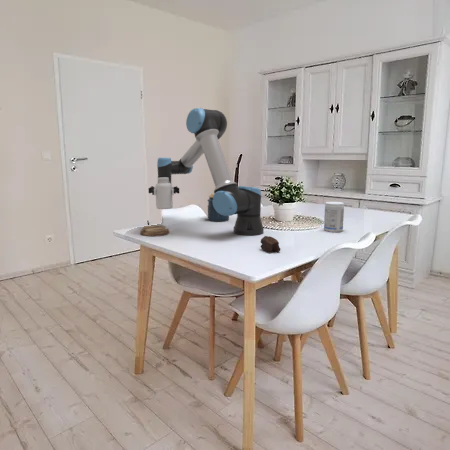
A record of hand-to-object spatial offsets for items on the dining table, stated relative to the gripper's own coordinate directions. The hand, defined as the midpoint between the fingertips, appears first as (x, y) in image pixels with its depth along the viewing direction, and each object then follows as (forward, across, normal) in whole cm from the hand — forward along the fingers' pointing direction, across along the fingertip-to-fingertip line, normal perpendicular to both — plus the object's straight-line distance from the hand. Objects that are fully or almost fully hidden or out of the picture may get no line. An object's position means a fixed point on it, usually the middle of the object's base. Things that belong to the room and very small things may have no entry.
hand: (163, 192), depth 176 cm
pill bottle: (-4, 0, -8) cm, 9 cm away
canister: (-38, -31, -21) cm, 53 cm away
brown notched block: (+35, -44, -20) cm, 59 cm away
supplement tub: (-1, -87, -20) cm, 89 cm away
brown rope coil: (-4, +5, -21) cm, 22 cm away
